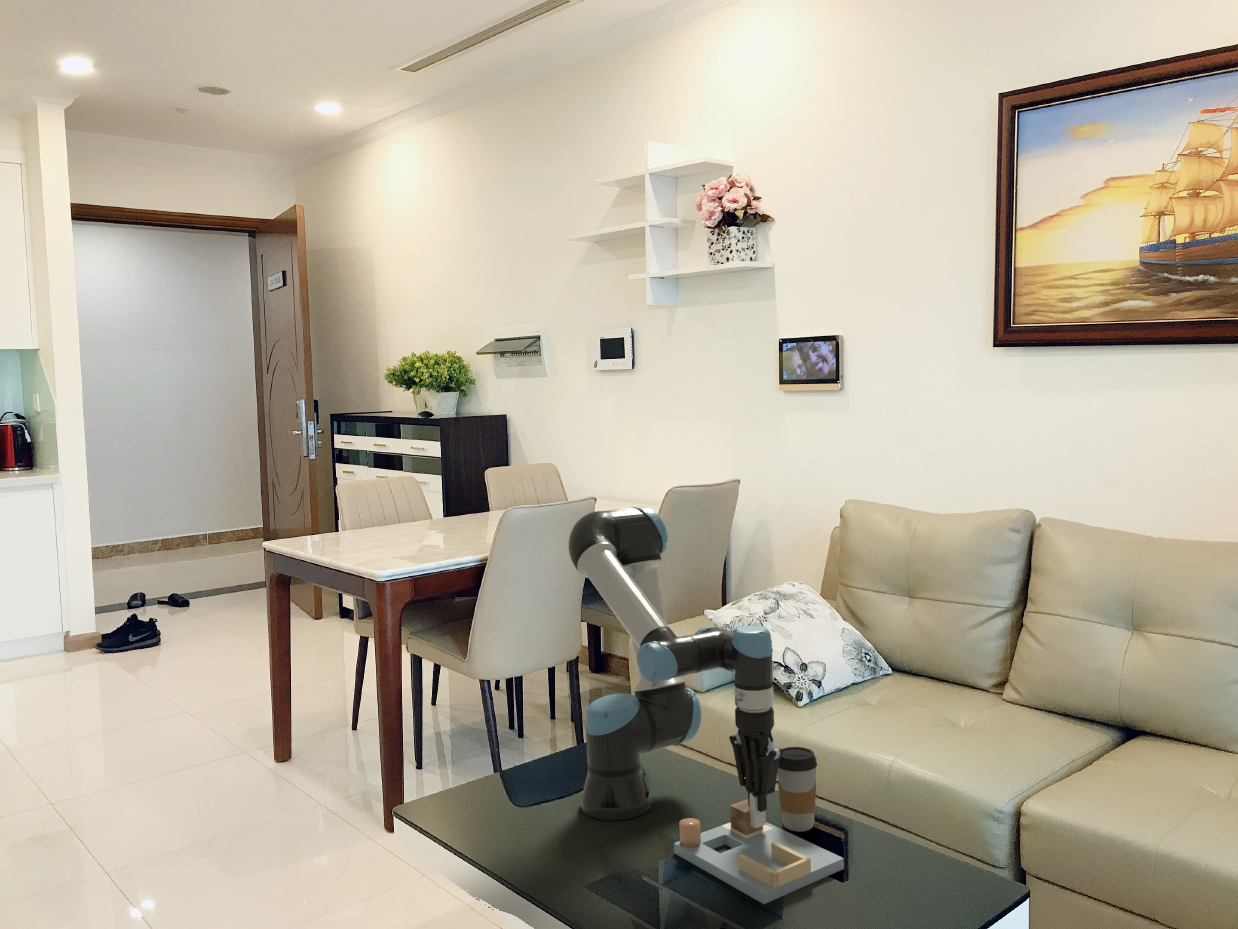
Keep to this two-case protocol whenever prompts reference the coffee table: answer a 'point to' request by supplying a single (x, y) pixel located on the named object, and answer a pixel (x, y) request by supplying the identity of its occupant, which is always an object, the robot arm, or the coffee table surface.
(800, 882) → the board
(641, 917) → the coffee table surface
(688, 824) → the beige cylinder
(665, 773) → the coffee table surface
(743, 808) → the walnut cube
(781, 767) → the coffee cup
